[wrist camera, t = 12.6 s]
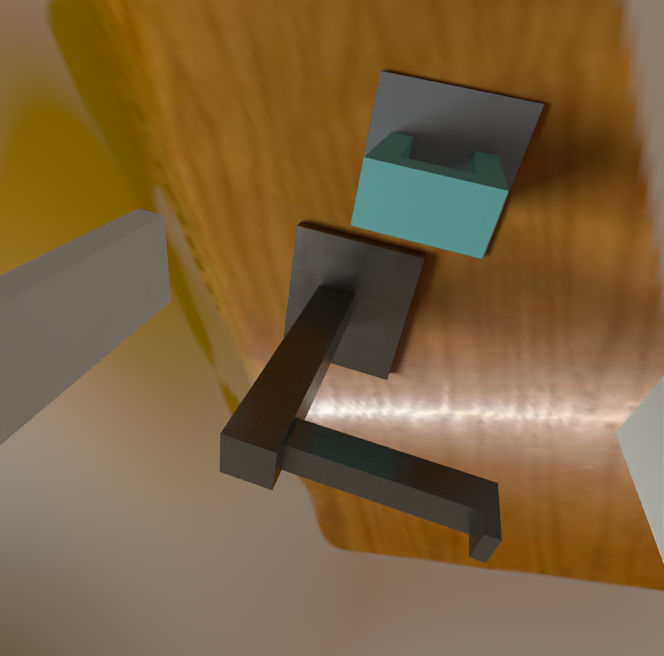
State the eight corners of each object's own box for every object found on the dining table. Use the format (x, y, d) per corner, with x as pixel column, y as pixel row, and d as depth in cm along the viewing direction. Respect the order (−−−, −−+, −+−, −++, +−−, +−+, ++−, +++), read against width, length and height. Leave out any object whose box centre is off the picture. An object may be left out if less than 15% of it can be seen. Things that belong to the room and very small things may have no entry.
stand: (301, 221, 33) (166, 350, 19) (512, 276, 31) (551, 471, 16) (286, 342, 40) (179, 507, 25) (459, 394, 38) (452, 608, 23)
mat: (381, 70, 27) (380, 70, 26) (543, 103, 25) (544, 104, 25) (352, 221, 32) (350, 223, 32) (483, 255, 31) (483, 257, 31)
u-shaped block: (379, 184, 30) (350, 225, 23) (391, 131, 28) (363, 157, 21) (478, 208, 29) (481, 258, 22) (498, 155, 27) (508, 191, 20)
